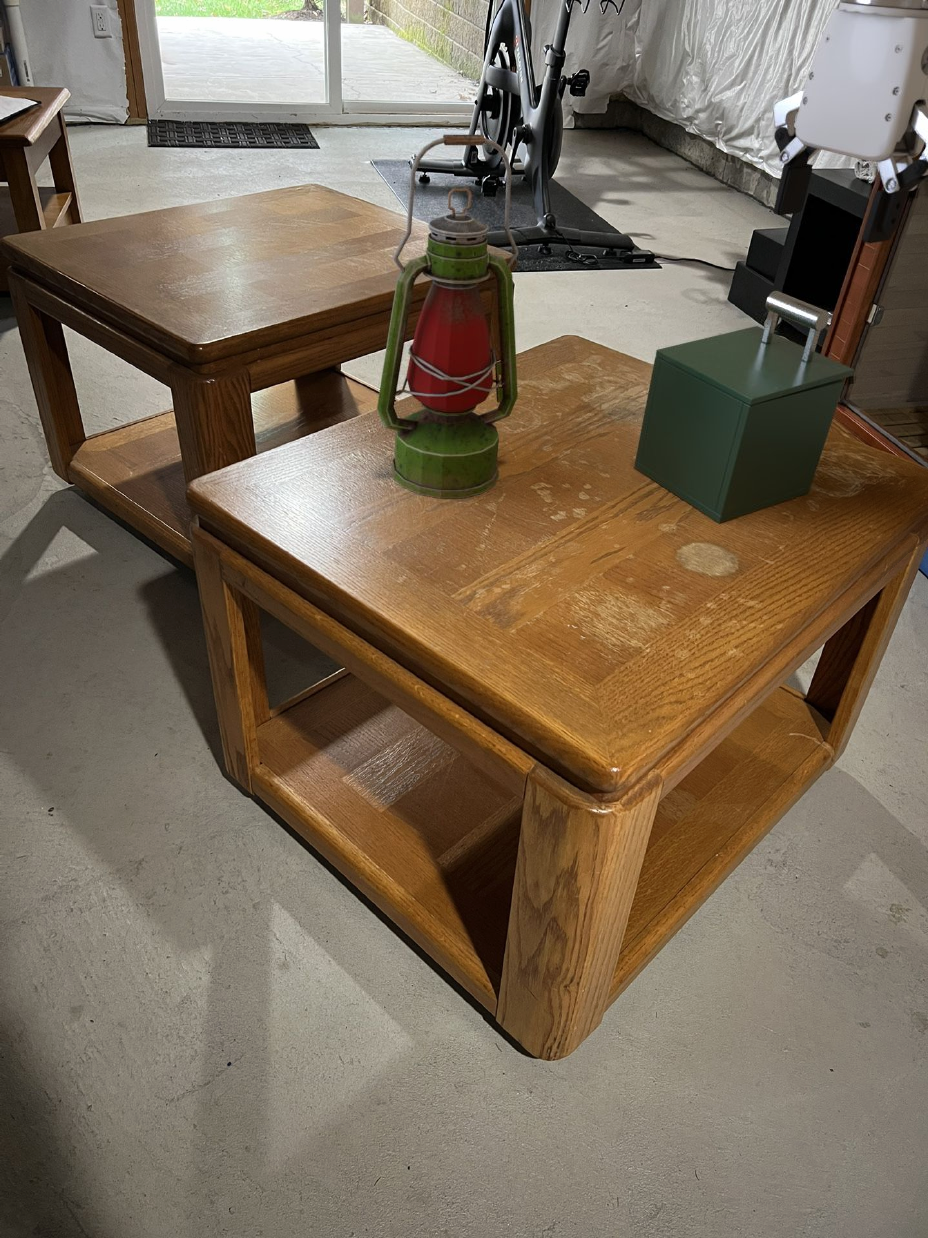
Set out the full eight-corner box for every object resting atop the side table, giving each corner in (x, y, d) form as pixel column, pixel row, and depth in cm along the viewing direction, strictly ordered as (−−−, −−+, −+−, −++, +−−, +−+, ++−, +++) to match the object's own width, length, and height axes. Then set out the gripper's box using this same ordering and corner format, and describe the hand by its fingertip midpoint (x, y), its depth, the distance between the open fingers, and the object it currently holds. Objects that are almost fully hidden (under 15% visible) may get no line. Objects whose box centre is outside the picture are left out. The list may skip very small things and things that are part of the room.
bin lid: (755, 331, 94) (768, 276, 91) (853, 375, 86) (871, 317, 83) (655, 355, 88) (665, 298, 84) (750, 405, 80) (765, 344, 77)
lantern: (492, 440, 98) (520, 121, 80) (530, 490, 90) (570, 148, 72) (363, 453, 94) (361, 120, 76) (390, 506, 86) (396, 148, 68)
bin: (721, 442, 101) (748, 336, 94) (809, 492, 93) (845, 380, 86) (633, 467, 95) (655, 356, 88) (719, 523, 87) (750, 406, 80)
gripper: (1027, 2, 68) (942, 248, 78) (835, -16, 79) (782, 200, 89) (966, 0, 64) (885, 257, 74) (775, -19, 75) (727, 206, 86)
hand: (829, 226), depth 82 cm, fingers open, 9 cm apart
